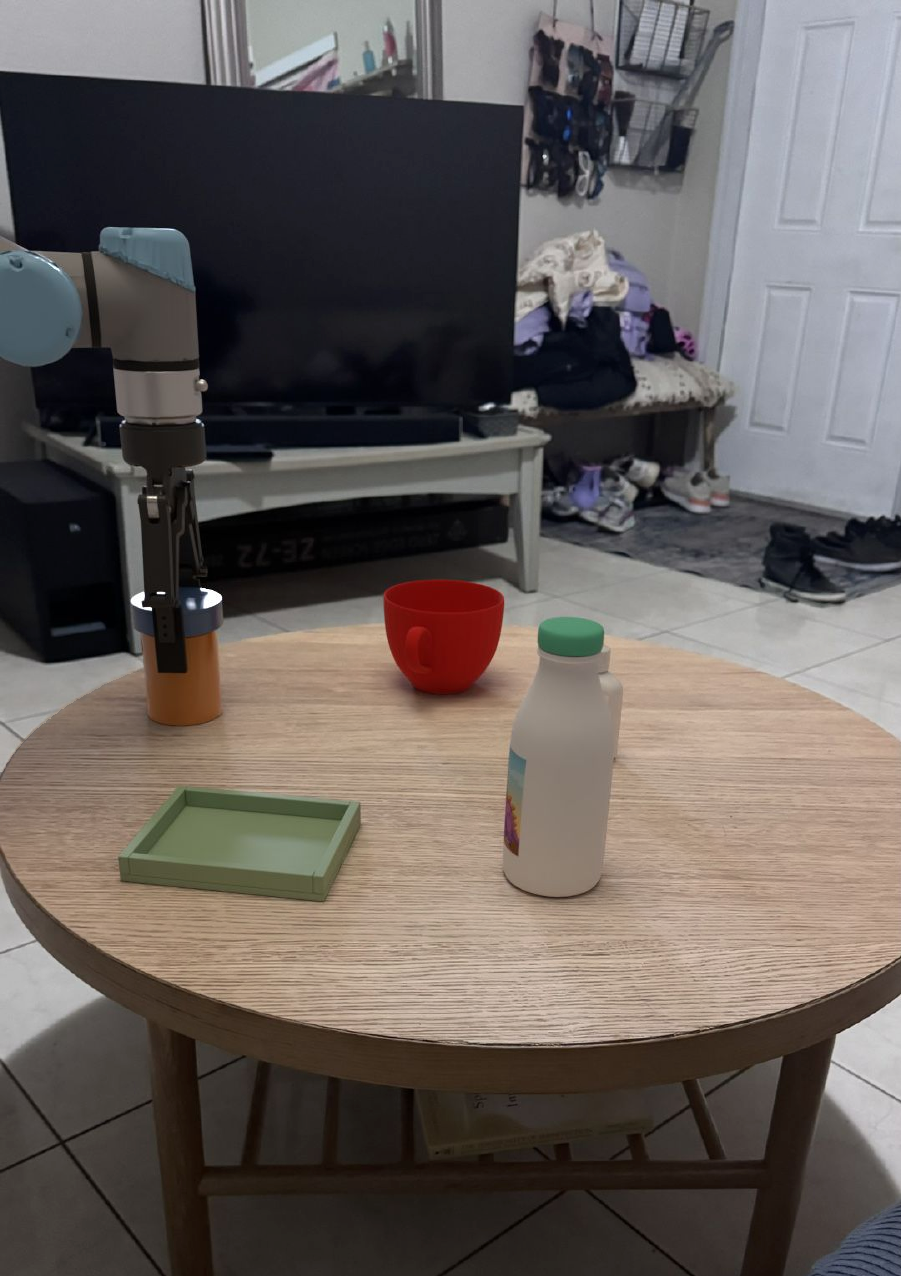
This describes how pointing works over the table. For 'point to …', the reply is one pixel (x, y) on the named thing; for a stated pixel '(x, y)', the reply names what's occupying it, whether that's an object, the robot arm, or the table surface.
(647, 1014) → the table surface
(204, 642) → the jar
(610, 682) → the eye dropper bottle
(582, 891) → the milk bottle
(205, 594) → the lid
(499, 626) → the ceramic cup
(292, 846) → the tray
